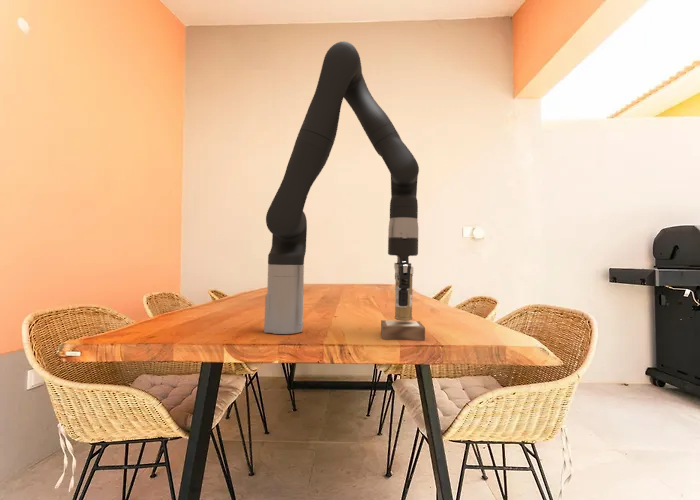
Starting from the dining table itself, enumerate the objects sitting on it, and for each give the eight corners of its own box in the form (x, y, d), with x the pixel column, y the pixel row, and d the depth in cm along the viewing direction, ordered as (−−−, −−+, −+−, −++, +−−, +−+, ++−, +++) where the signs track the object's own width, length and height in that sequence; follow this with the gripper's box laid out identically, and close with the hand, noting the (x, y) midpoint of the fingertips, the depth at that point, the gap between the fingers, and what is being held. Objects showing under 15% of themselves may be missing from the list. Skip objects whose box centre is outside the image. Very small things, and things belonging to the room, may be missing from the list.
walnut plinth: (382, 339, 98) (383, 325, 98) (380, 331, 108) (381, 319, 108) (424, 340, 98) (425, 326, 98) (419, 332, 108) (419, 320, 108)
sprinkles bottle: (416, 320, 102) (417, 266, 102) (402, 321, 100) (403, 266, 100) (404, 317, 106) (405, 265, 106) (390, 318, 104) (391, 265, 104)
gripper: (386, 238, 111) (385, 301, 110) (390, 234, 96) (388, 307, 96) (414, 238, 110) (413, 302, 110) (422, 235, 96) (421, 308, 96)
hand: (402, 304), depth 103 cm, fingers closed on sprinkles bottle, 4 cm apart
